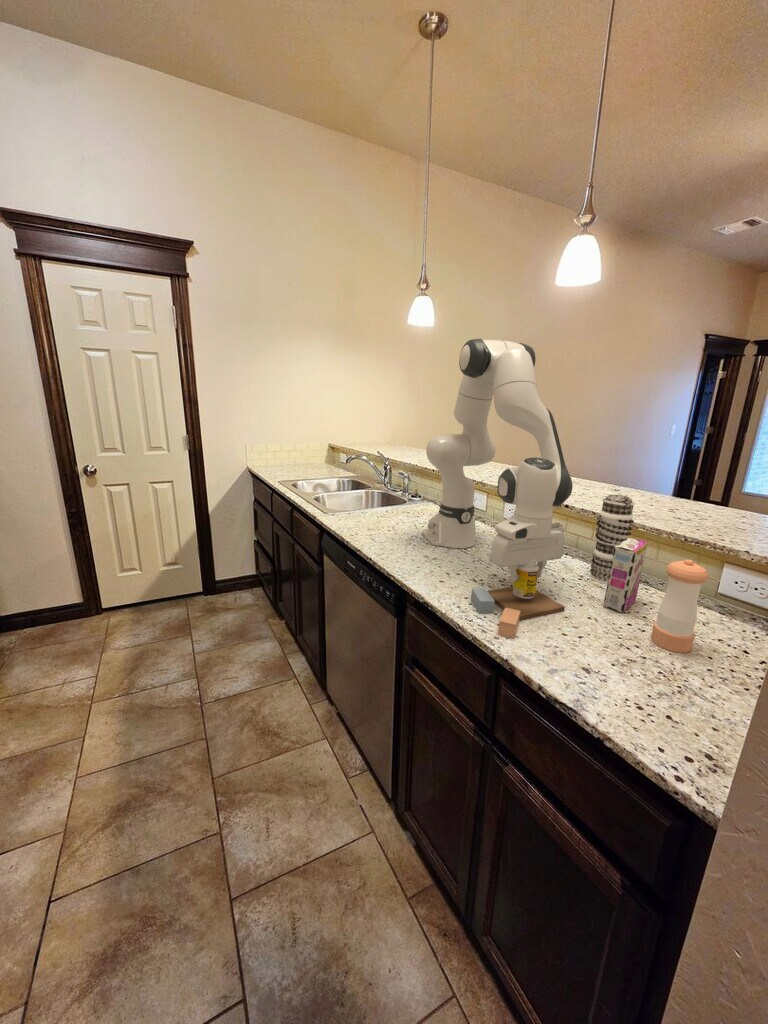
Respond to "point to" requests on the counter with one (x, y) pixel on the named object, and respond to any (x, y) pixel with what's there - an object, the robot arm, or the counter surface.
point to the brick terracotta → (509, 622)
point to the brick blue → (482, 601)
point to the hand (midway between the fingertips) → (525, 578)
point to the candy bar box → (625, 574)
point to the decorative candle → (610, 534)
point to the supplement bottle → (526, 580)
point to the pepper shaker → (679, 607)
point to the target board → (525, 603)
